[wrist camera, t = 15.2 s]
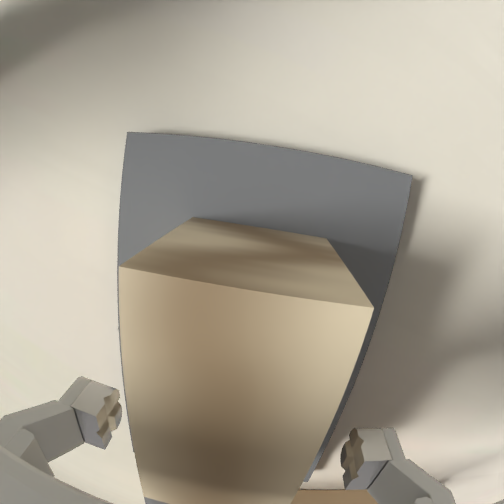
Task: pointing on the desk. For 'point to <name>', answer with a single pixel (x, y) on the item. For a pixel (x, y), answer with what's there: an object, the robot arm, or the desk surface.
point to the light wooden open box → (333, 497)
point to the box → (235, 359)
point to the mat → (266, 206)
